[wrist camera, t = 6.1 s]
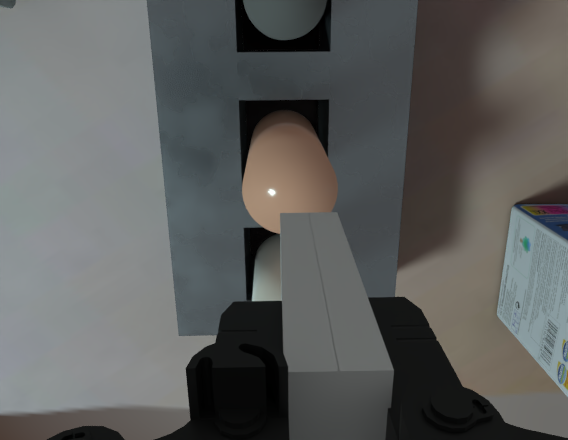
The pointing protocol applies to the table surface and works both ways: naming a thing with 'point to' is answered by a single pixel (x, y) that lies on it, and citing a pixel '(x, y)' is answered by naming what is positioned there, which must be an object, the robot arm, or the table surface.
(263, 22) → the gray plug
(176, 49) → the grey peg holder block
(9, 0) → the ceramic mug
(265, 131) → the terracotta plug
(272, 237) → the white plug
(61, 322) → the table surface
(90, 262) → the table surface
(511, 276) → the ink cartridge box
